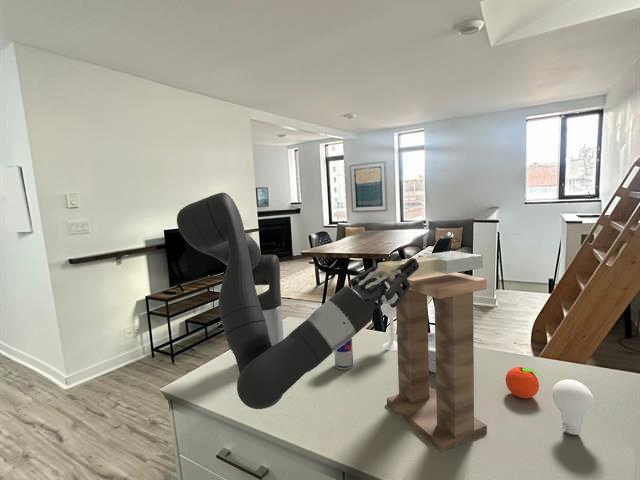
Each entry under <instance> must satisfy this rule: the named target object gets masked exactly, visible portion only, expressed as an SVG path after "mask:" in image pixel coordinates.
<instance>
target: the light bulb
mask: <svg viewBox="0 0 640 480" xmlns="http://www.w3.org/2000/svg"><path fill="white" fill-rule="evenodd" d="M551 394H552V395H551V396H552V399H553V402H554V404H555V405H556V407H557V409H558V410H559V412H560V415H561V416H560V417H561V420H562V430H563V431H564V432H566V433H567V434H569V435H572V436H577V435H580V434H581V433H582V425H583V422H584V419H585V417H586V416H587V415H588V414H590V412H591V411H592V410H593V408H594V404H595V402H594V397H593V394H592V392H591V391H590V389H589V387H587V386H586V385H585V384H583V383H582V382H580V381H577V380H574V379H570V378H569V379H567V378H566V379H562V380H560V381H558V382H557V383H555V384H554V386H553V388H552V392H551Z"/></svg>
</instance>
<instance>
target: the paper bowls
mask: <svg viewBox="0 0 640 480" xmlns="http://www.w3.org/2000/svg"><path fill="white" fill-rule="evenodd" d="M428 353H429V372H432V373H434V374H436V352H435V331H434V332H428Z"/></svg>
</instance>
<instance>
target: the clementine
mask: <svg viewBox="0 0 640 480" xmlns="http://www.w3.org/2000/svg"><path fill="white" fill-rule="evenodd" d="M536 374H537V375H538V376H540V377H541V378H543V377H542V375H541V374H540V373H539V372H537V371H535V370H533V369H531V368H527V367H523V366H515V367H512V368H511V369H509V370H508V371H507V373H506V375H505V385H506V387H507V390H508V391H510V393H511V394H513V396H515V397H518V398H520V399H530V398H533V397H534V396H536V395H537V393H538V392H539V390H540V389H539V388H540V384H539V383H540V382H539V379H538V378H537V377H538V376H536Z"/></svg>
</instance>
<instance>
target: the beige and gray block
mask: <svg viewBox="0 0 640 480" xmlns="http://www.w3.org/2000/svg"><path fill="white" fill-rule="evenodd" d="M413 258H414V259H416V261H417V263H418V265H419V268H418V269H417V270H416V271H415V272H414V273H413V274H412V275H411V276H409V277H412V276H418V275H425V274H431V273H437V272H441V273H445V274H449V273H456V272H457V273H462V272H466V271H467V272H468V271H472V270H478V269H479V270H480V269H483V265H484V263H483V261H484V257H483V255H482V254H475V253H469V252H461V251H454V250H450V251H448V250H447V251H442V252H435V253H427V254H426V253H425V254H420V255H419V254H418V255H417V257H413ZM409 259H410V258H405V259H402V260H396V261H390V260H388V261H384V262H383V261H382V262H378V263H377V268H378V272H379V276H380V277H383V276H384V275H388V276H389V275H391V274H392V273H394V272H395V271H397V270H398V269H399V268H400V267H401V266H403V265H404V264H405V263H406V262H407V261H408V260H409ZM396 278H397V277H396ZM396 278H395V279H396Z"/></svg>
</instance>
